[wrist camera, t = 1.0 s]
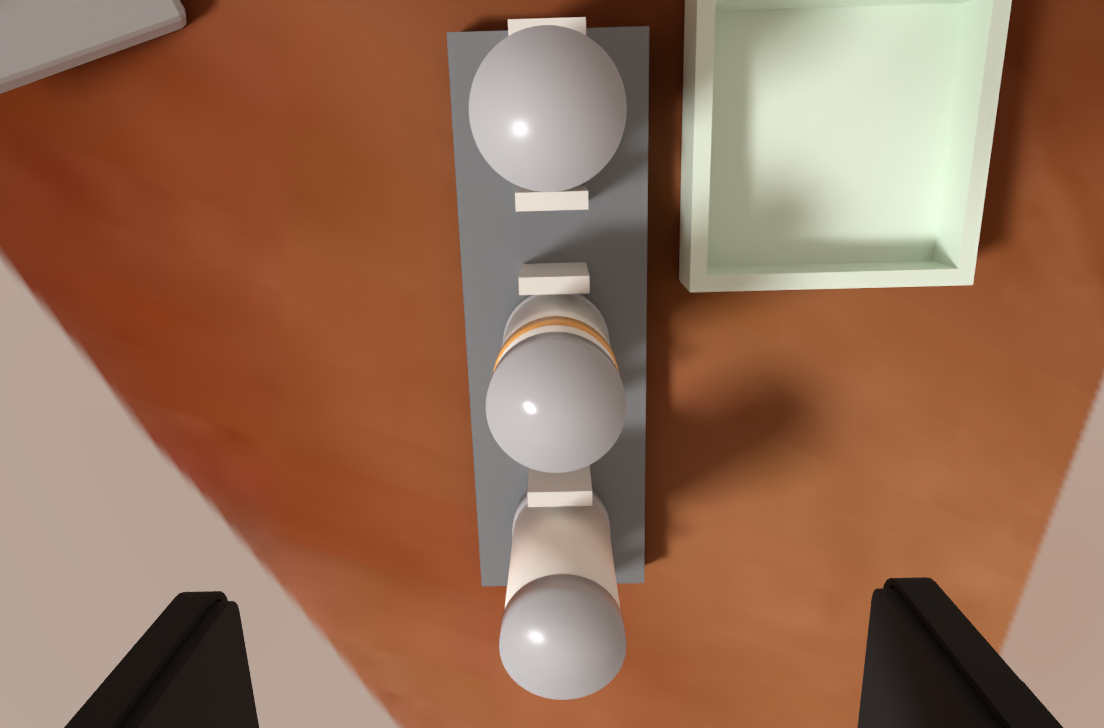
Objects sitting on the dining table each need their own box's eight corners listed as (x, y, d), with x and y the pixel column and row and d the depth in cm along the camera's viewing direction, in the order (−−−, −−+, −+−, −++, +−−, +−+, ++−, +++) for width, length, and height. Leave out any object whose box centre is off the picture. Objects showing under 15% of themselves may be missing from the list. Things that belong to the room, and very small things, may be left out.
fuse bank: (451, 37, 27) (399, -16, 18) (645, 31, 27) (689, -25, 18) (484, 570, 33) (458, 727, 24) (641, 567, 33) (672, 723, 24)
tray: (684, -4, 26) (697, -19, 24) (973, -13, 26) (1015, -29, 24) (678, 280, 29) (689, 292, 27) (938, 273, 29) (973, 285, 27)
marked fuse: (502, 288, 28) (481, 342, 20) (607, 285, 28) (626, 338, 20) (507, 387, 29) (489, 474, 22) (608, 385, 29) (626, 471, 21)
